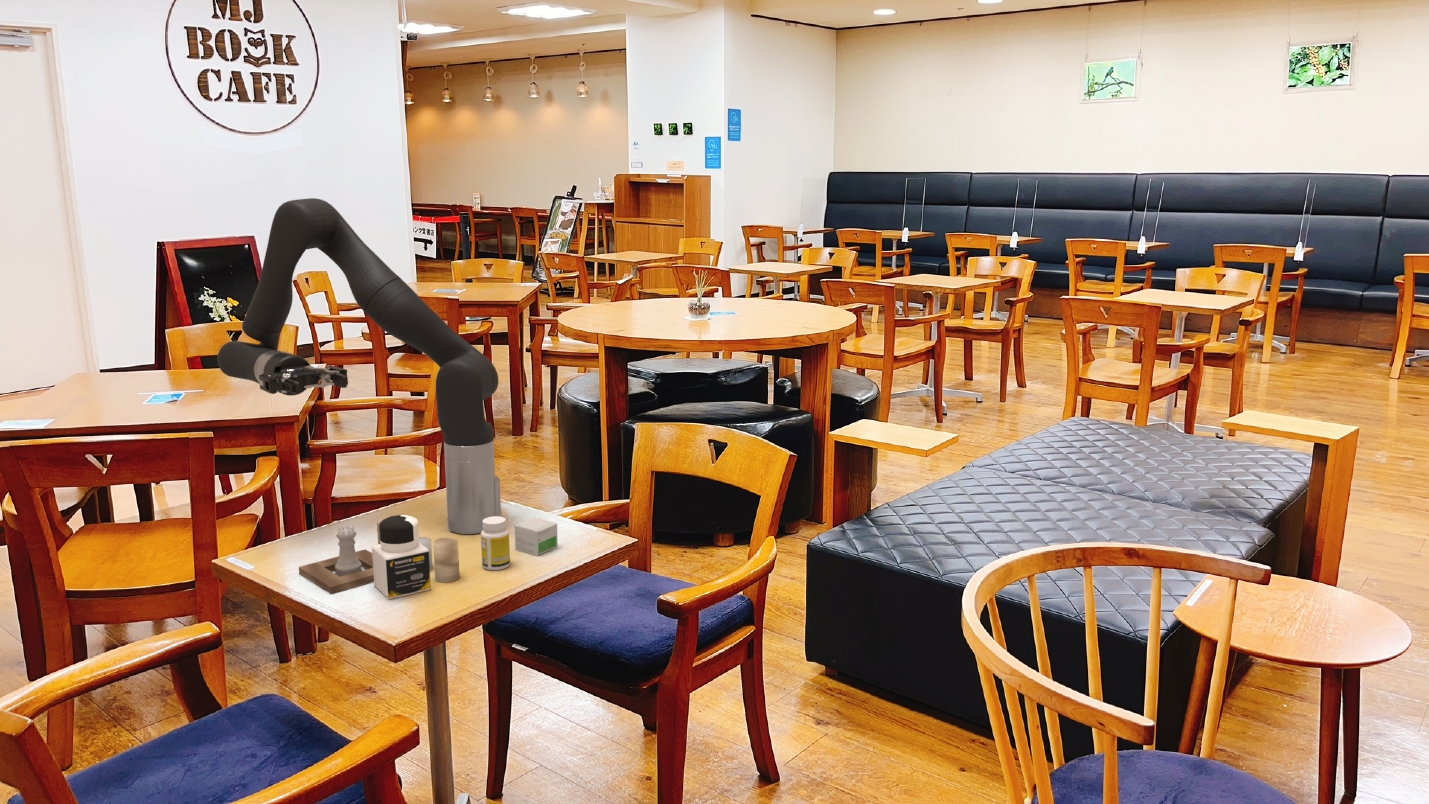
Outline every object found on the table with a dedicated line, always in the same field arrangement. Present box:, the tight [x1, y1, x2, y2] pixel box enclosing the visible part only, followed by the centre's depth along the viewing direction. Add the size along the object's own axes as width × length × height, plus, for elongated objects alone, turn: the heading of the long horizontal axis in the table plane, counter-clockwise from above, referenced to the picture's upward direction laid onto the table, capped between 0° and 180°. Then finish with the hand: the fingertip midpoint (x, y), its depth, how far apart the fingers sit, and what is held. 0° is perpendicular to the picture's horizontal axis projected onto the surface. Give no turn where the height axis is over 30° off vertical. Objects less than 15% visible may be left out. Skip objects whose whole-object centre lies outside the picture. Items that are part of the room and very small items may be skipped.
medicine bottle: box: [371, 514, 432, 600], centre depth 167 cm, size 7×7×12 cm
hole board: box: [298, 521, 381, 595], centre depth 173 cm, size 12×12×9 cm
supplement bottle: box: [480, 516, 511, 571], centre depth 177 cm, size 5×5×8 cm
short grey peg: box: [419, 536, 434, 571], centre depth 176 cm, size 4×4×5 cm
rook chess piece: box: [334, 526, 363, 577], centre depth 173 cm, size 4×4×8 cm
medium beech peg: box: [432, 537, 461, 584], centre depth 172 cm, size 4×4×6 cm
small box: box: [514, 516, 558, 557], centre depth 186 cm, size 6×6×5 cm
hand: (321, 385), depth 179 cm, fingers open, 8 cm apart
